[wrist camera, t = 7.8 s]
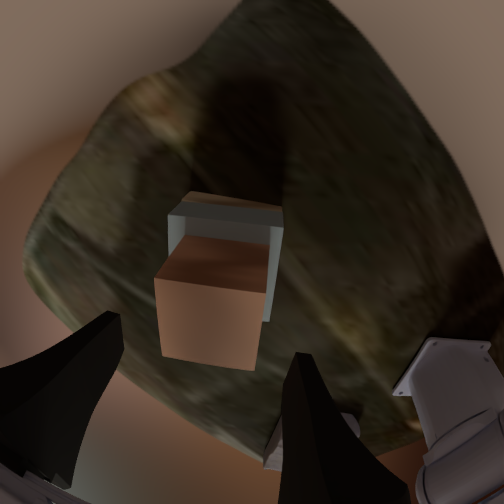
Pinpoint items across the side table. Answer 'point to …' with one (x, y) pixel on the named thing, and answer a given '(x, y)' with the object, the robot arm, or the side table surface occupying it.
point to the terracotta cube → (212, 301)
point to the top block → (231, 231)
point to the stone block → (275, 445)
